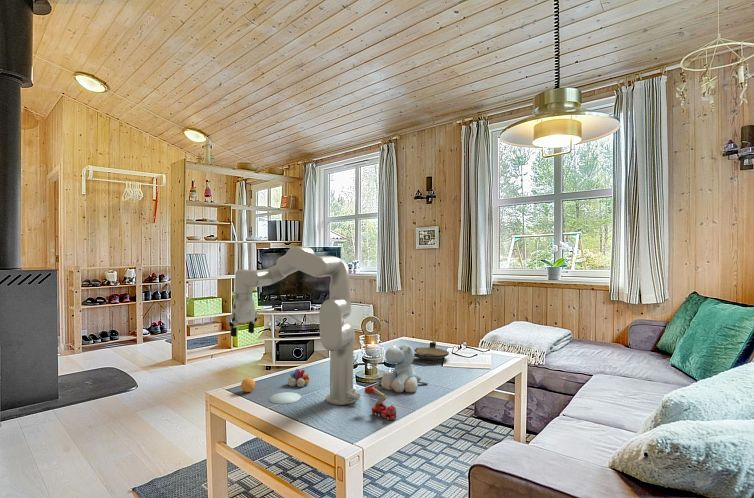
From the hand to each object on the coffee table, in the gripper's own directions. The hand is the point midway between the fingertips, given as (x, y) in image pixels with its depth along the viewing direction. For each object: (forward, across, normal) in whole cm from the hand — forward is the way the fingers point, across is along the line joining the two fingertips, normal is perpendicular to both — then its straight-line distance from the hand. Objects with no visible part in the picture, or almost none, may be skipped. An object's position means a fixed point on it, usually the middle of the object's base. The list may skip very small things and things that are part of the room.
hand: (242, 334), depth 189 cm
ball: (+20, -4, -9) cm, 22 cm away
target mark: (+22, 0, -28) cm, 36 cm away
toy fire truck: (+22, +7, -71) cm, 75 cm away
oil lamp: (+22, +92, -51) cm, 107 cm away
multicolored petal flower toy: (+23, +16, -21) cm, 35 cm away
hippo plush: (+22, +42, -61) cm, 77 cm away
